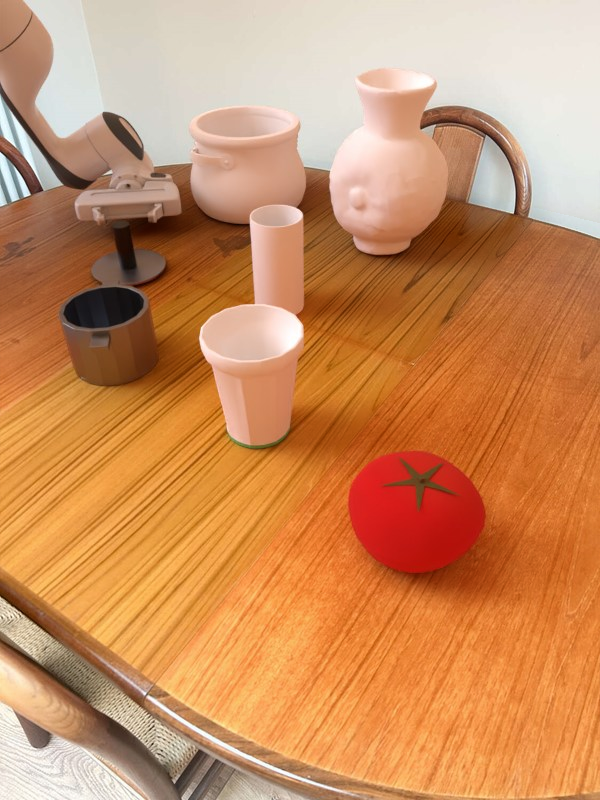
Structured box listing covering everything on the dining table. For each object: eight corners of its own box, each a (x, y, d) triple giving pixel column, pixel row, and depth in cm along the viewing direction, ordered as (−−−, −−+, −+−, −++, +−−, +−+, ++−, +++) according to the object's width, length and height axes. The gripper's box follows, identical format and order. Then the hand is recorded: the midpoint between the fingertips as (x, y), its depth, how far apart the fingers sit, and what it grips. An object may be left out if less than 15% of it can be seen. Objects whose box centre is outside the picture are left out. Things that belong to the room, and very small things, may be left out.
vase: (412, 279, 117) (433, 101, 97) (309, 251, 125) (309, 82, 106) (452, 239, 129) (476, 73, 109) (355, 215, 137) (363, 58, 118)
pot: (260, 174, 156) (256, 95, 145) (332, 204, 142) (333, 120, 131) (168, 205, 143) (155, 121, 131) (237, 242, 129) (230, 152, 117)
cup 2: (294, 391, 93) (292, 297, 83) (314, 451, 83) (315, 354, 74) (206, 404, 91) (194, 309, 81) (217, 467, 81) (204, 369, 72)
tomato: (324, 553, 71) (325, 488, 64) (377, 479, 80) (383, 414, 73) (448, 614, 65) (464, 549, 59) (491, 527, 74) (509, 461, 67)
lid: (88, 292, 115) (76, 244, 109) (96, 256, 125) (85, 211, 119) (165, 286, 116) (157, 238, 110) (167, 251, 126) (160, 206, 120)
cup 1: (274, 288, 115) (271, 200, 105) (313, 302, 111) (313, 212, 101) (245, 308, 110) (238, 218, 100) (284, 324, 106) (281, 232, 96)
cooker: (66, 401, 92) (49, 346, 85) (82, 331, 105) (68, 278, 99) (156, 393, 93) (145, 338, 87) (160, 324, 106) (151, 272, 100)
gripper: (75, 179, 131) (66, 207, 120) (179, 173, 133) (178, 201, 122) (82, 209, 135) (73, 239, 124) (182, 203, 137) (182, 232, 126)
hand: (126, 220), depth 123 cm, fingers open, 8 cm apart
